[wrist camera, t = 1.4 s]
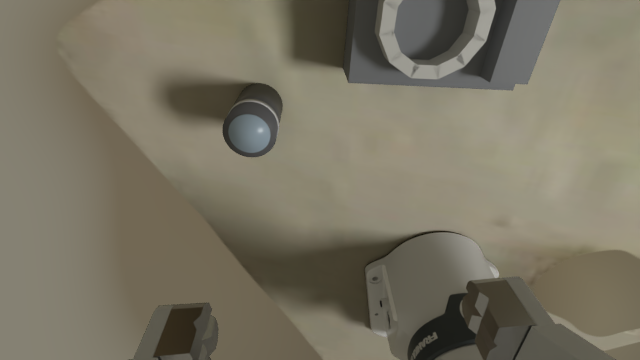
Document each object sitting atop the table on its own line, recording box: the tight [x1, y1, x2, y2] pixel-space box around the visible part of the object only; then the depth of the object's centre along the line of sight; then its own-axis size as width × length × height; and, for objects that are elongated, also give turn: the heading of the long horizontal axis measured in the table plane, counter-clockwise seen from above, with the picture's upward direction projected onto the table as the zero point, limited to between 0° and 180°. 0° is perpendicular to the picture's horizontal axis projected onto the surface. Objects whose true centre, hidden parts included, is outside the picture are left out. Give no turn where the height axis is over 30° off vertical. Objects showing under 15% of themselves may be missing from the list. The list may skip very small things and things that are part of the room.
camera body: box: [343, 0, 560, 90], centre depth 25 cm, size 10×14×8 cm
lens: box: [223, 83, 283, 157], centre depth 30 cm, size 4×4×7 cm
